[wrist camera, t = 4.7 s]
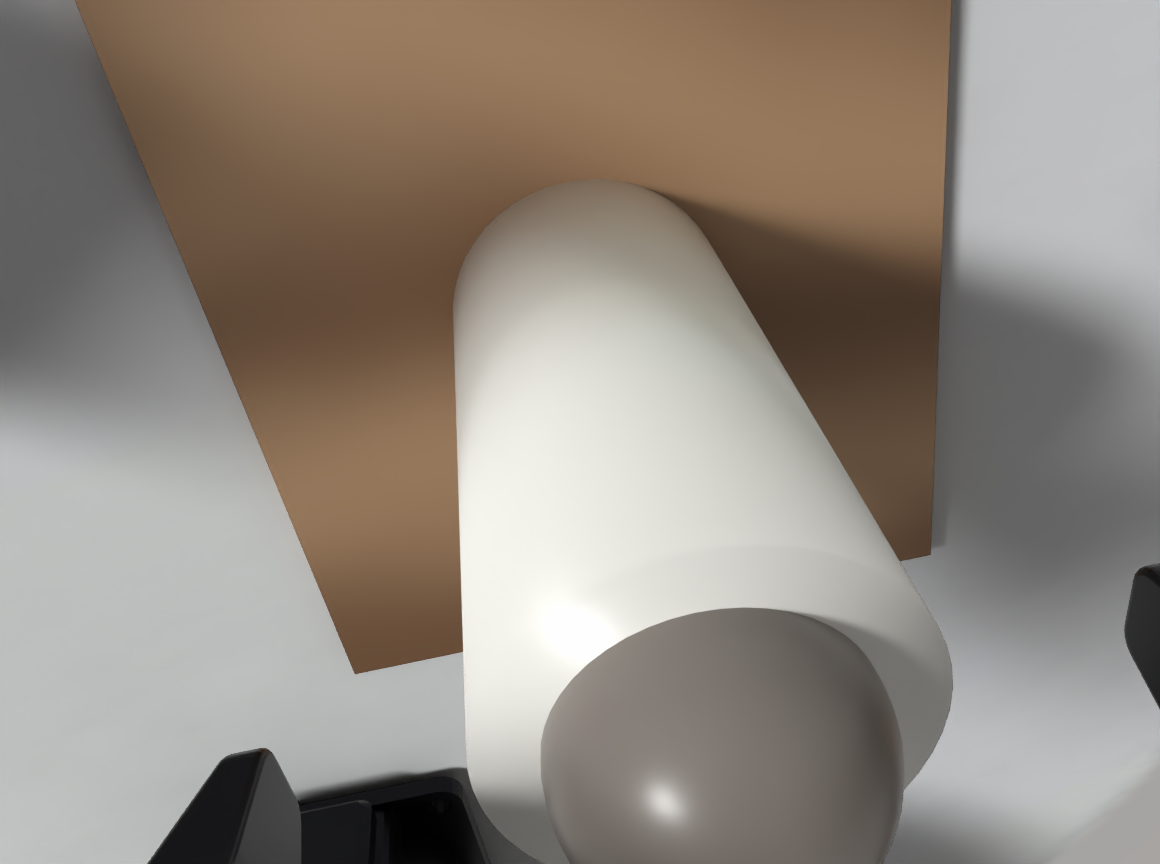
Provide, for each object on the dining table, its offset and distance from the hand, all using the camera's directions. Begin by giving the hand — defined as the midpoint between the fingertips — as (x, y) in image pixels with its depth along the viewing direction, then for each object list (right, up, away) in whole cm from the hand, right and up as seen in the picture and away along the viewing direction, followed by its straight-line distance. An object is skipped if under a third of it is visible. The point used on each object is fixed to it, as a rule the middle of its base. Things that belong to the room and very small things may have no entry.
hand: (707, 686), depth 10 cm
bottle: (-1, +4, +7) cm, 9 cm away
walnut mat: (-1, +5, +7) cm, 9 cm away
